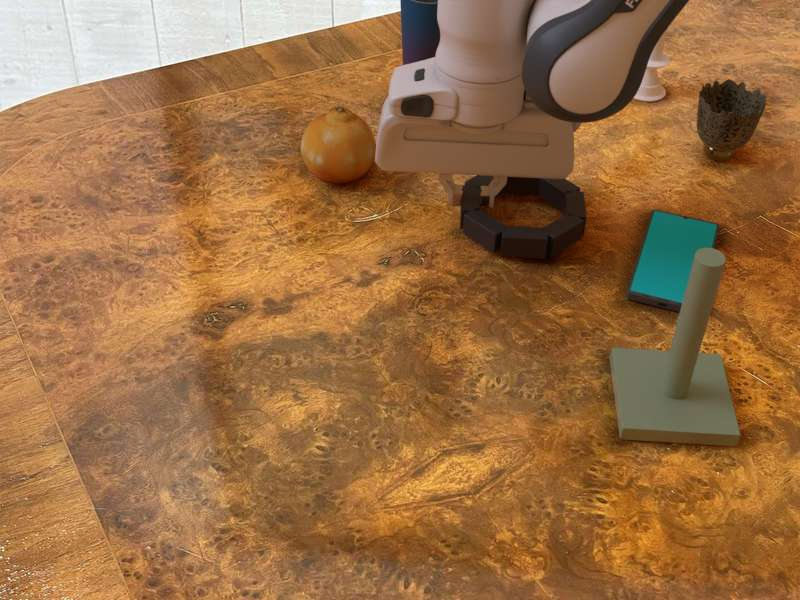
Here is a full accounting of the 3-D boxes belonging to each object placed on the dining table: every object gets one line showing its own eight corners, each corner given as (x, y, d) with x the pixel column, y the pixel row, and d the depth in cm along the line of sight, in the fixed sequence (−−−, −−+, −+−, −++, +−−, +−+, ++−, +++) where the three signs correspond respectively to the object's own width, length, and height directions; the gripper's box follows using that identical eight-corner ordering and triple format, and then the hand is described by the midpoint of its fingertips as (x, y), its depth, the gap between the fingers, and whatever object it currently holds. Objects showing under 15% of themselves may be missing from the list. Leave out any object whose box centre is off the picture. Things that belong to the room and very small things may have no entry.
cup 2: (672, 152, 126) (686, 92, 121) (710, 131, 130) (725, 72, 125) (725, 179, 122) (742, 119, 117) (762, 157, 126) (780, 97, 120)
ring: (578, 188, 119) (581, 169, 117) (586, 261, 109) (589, 241, 107) (461, 181, 119) (462, 162, 117) (459, 254, 109) (460, 234, 108)
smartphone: (626, 292, 105) (652, 208, 116) (625, 298, 105) (650, 214, 116) (701, 310, 103) (721, 224, 114) (699, 317, 104) (719, 230, 114)
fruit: (354, 122, 125) (328, 84, 118) (399, 158, 120) (375, 119, 114) (305, 172, 124) (276, 136, 117) (349, 209, 120) (322, 174, 113)
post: (717, 365, 99) (761, 222, 88) (736, 447, 91) (788, 301, 80) (609, 358, 99) (640, 215, 88) (619, 439, 92) (655, 294, 81)
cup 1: (459, 97, 134) (467, -16, 124) (438, 123, 129) (445, 8, 120) (410, 85, 136) (414, -27, 126) (387, 110, 131) (390, -5, 122)
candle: (669, 102, 135) (688, 14, 127) (627, 101, 135) (643, 13, 127) (661, 81, 139) (679, -6, 131) (620, 80, 139) (636, -7, 131)
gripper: (583, 76, 106) (567, 191, 115) (378, 67, 107) (377, 182, 116) (588, 109, 101) (570, 226, 110) (373, 100, 102) (373, 216, 111)
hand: (470, 203), depth 113 cm, fingers closed on ring, 2 cm apart
